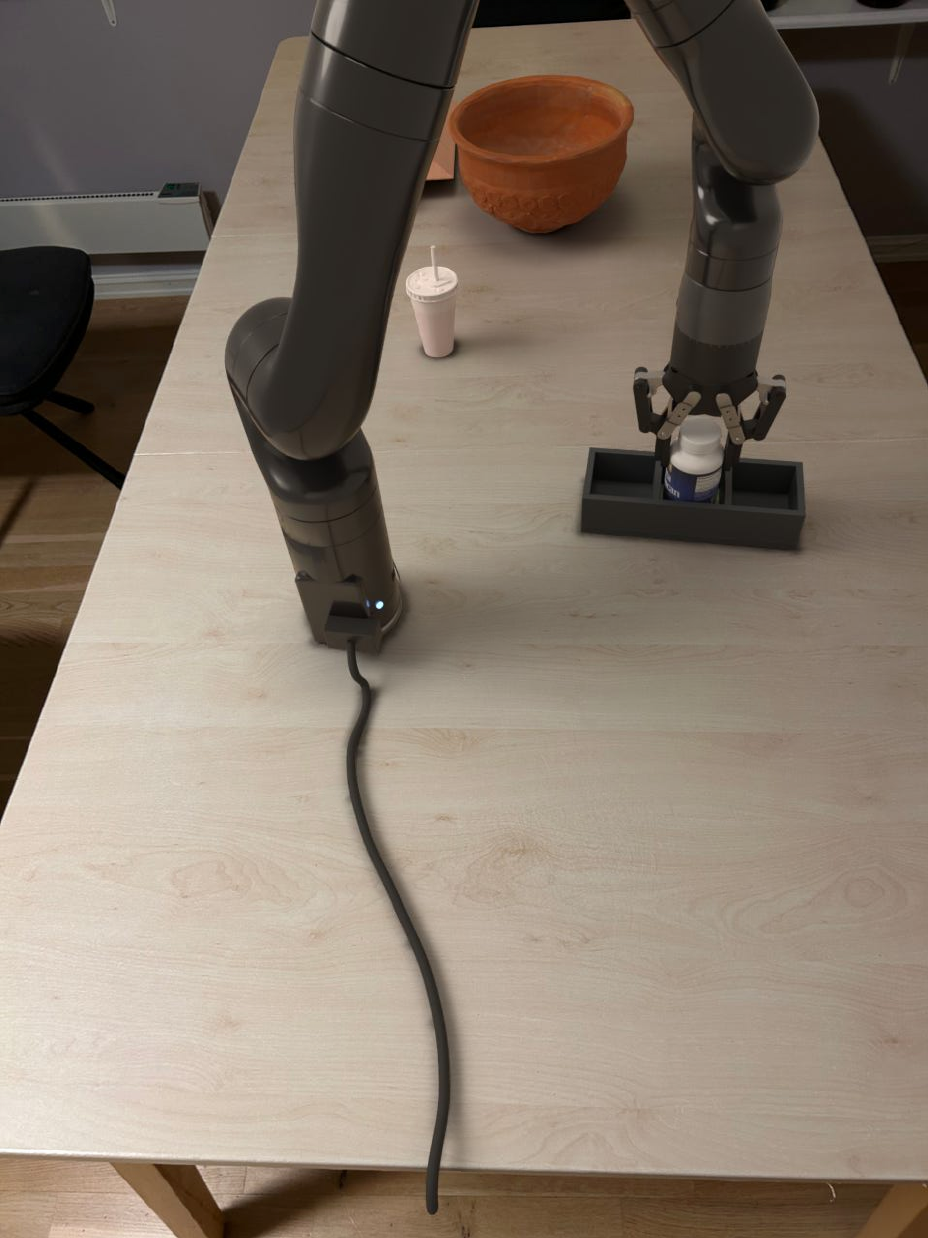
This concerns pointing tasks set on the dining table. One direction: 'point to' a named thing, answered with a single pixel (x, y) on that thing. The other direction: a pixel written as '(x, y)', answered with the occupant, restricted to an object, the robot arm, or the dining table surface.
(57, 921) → the dining table surface
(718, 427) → the pill bottle
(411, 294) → the smoothie
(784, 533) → the rack
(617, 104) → the bowl
